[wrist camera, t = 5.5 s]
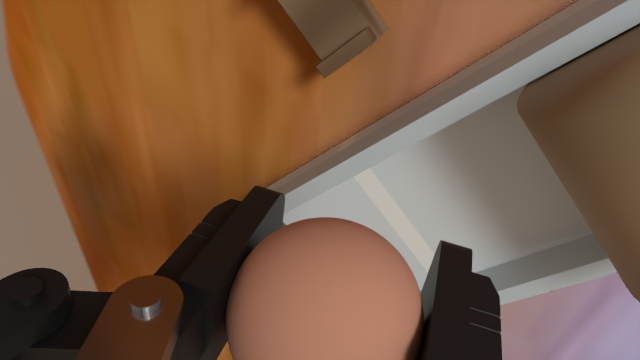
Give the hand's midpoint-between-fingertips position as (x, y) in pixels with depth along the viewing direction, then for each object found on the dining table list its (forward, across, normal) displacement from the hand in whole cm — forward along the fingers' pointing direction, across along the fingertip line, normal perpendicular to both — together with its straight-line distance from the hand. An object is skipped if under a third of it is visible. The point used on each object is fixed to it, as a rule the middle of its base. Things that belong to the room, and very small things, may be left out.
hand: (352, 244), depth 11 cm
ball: (-2, 0, 0) cm, 2 cm away
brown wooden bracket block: (+16, +5, -2) cm, 17 cm away
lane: (+16, -3, +8) cm, 18 cm away
